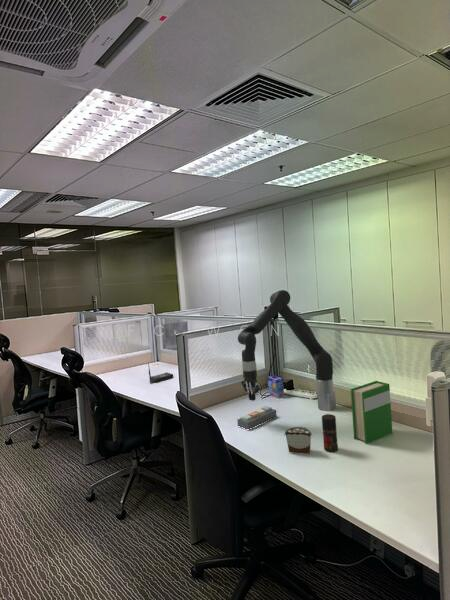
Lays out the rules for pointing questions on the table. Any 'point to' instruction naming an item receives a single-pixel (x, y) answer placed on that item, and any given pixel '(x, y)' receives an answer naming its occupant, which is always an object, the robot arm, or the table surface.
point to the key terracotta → (254, 415)
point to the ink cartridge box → (275, 386)
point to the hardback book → (371, 411)
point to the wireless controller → (160, 377)
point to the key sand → (260, 412)
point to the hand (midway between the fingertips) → (252, 399)
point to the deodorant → (329, 433)
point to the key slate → (267, 409)
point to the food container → (298, 439)
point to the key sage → (247, 418)
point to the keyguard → (257, 420)
